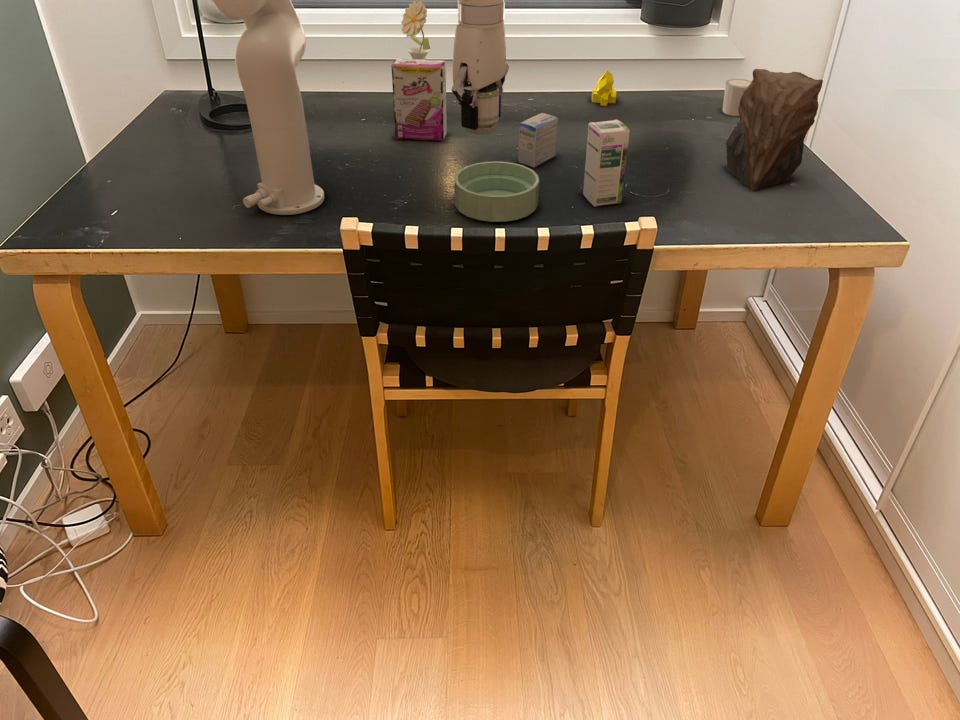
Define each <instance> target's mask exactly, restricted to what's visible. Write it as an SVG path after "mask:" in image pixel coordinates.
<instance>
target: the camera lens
mask: <svg viewBox="0 0 960 720" xmlns="http://www.w3.org/2000/svg"><path fill="white" fill-rule="evenodd" d="M468 86H469V87H471V86H472V85H471V83H468ZM467 94H468V95H469V97H470V98H471V94H472V91H469V90H468V91H467ZM499 95H500V94H499V88H498V87H497V86H496V85H495V84H493V83H492V84H490V85H488V86H486V87H484V88H481V89H479V92H478V96H477V101H476V105H475V106H477V107H478V129H476V130H472V129H468V128H464V129H465V131H466V132H468V133H469V134H471V135H490V134H493V133H495V132H497V129H498V125H499V120H500V117H499Z"/></svg>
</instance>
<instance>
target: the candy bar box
mask: <svg viewBox="0 0 960 720" xmlns="http://www.w3.org/2000/svg"><path fill="white" fill-rule="evenodd" d="M391 82H392V99H393V100H392V101H393V117H394V118H393V119H394V133H395V134H394V135H395V140H410V141H411V140H412V141H433V142H435V141H436V142H444V141H445V138H446V136H447V133H448V131H447V130H448V125H447V64H446V60H437V59H425V60H418V59H412V58H394V60H393V62H392V63H391Z"/></svg>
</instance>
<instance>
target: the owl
mask: <svg viewBox="0 0 960 720" xmlns="http://www.w3.org/2000/svg"><path fill="white" fill-rule="evenodd" d="M751 81H752V82H751V83H750V85H749V86H748V88H747V89H746V90H745V91H743V95H742V97H741V99H740V105H739V107H738V111H739V116H738V117H739V121H738V122H736V125H735V126H734V127H733V130H732V132H731V133H730V135H729V136H728V138H727V140H726V141H725V149H726V168H725V170H726V171H727V173H729V174H731V175H732V176H733V178H736V179H737V180H738V181H740V184H741V185H743V186H744V187H747V189H749V190H751V191H753V192H755V191H757V190H761V189H764V188H765V189H766V188H769V187H771V186H778V185H780V184H781V183H782V184H783V183H788V182H790V181H791V180H792V175H793V174H794V173H795V172H796V170H797V169H798V168H799V167H801V164H802V162H803V152H804V146H805V145H804V143H805V139H806V136H807V135H808V132H809V130H810V129H811V128H812V127H813V125H814V123H815V118H816V117H817V114H818V110H819V101H818V100H819V99H818V96H819V93H820V92H821V90H822V88H823V84H824V79H815V78H813V77H810V76H808V75H806V74H805V73H802V72H800V71H799V72H798V71H792V72H783V71H778V72H777V71H770V70H768V69H765V68H755V69H753V70H752V80H751Z"/></svg>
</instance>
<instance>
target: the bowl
mask: <svg viewBox="0 0 960 720" xmlns="http://www.w3.org/2000/svg"><path fill="white" fill-rule="evenodd" d="M453 178H454V179H453V180H454V183H453V184H454V207H455V208H456V209H457V211H458V212H460V213H461V214H462V215H464V216H466V217H468V218H471V219H475V220H477V221H482V222H491V223H495V222H496V223H497V222H498V223H499V222H500V223H501V222H512V221H517V220H520V219H523V218H527V217H528V216H530V215H532V213H534V212H535V211H536V210H537V208H538V207H539V197H540V196H539V195H540V178H539V174H537V173H536V172H535V170H534V169H532V168H531V167H530V168H529V166H528V167H527V165H524V164H520V163H515V162H509V161H499V160H497V161H483V162H477V163H473V164H468V165H466V166H464V167H462V168H460V169H459V170H458V171H457V172H456V173H455V174H454V177H453Z"/></svg>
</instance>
